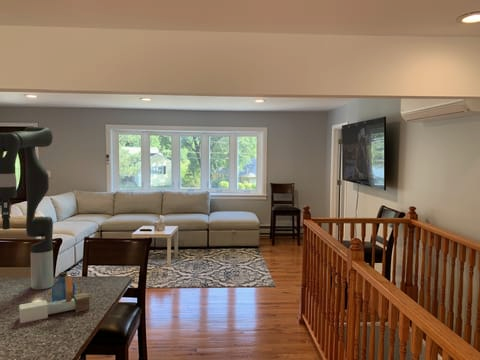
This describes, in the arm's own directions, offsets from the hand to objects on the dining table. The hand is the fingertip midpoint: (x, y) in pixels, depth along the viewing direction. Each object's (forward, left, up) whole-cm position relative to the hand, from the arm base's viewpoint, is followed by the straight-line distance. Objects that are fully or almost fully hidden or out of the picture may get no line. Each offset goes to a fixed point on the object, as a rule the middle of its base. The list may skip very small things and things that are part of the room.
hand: (6, 227), depth 139 cm
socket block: (+9, +25, -34) cm, 43 cm away
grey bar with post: (+9, +17, -33) cm, 39 cm away
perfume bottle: (-4, +20, -34) cm, 40 cm away
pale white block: (+9, +8, -34) cm, 36 cm away
